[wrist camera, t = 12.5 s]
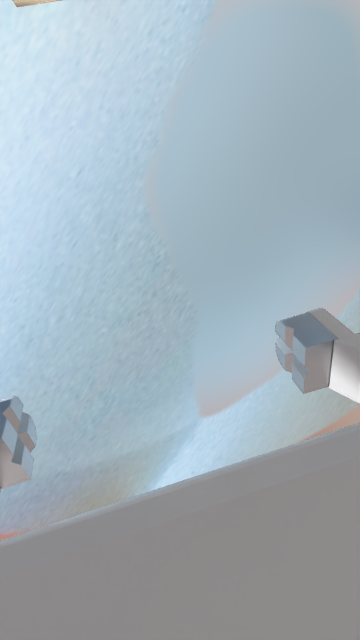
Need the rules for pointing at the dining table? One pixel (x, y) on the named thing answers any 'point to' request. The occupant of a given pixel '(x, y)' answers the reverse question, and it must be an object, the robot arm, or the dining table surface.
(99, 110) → the dining table surface
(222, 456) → the dining table surface
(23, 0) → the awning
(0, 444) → the robot arm
